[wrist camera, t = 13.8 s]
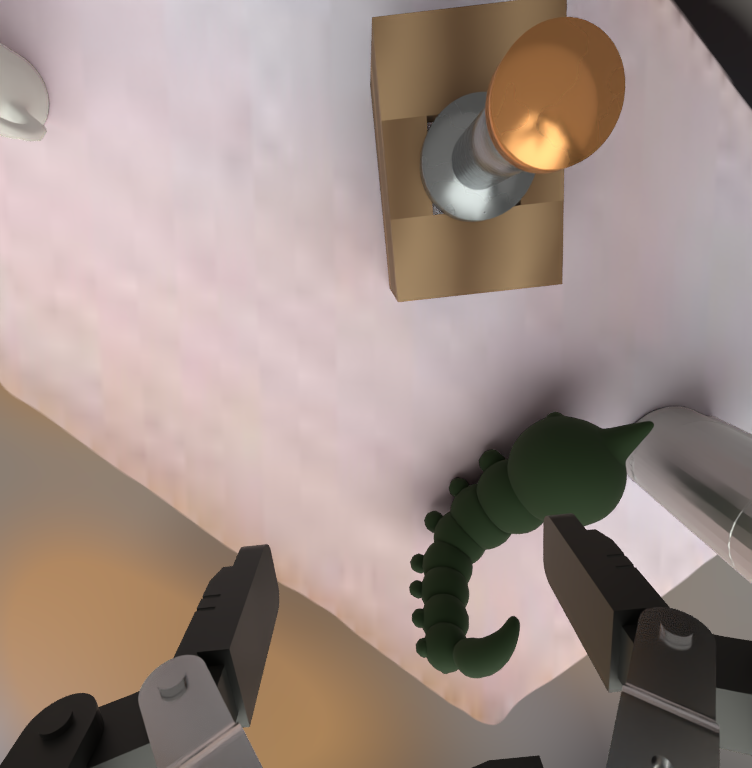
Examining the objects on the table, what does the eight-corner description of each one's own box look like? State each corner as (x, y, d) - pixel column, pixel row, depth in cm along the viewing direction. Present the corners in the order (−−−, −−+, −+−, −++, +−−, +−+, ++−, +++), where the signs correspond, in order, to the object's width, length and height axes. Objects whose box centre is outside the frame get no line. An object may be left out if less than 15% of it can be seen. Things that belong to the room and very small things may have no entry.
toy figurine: (447, 556, 51) (635, 417, 44) (475, 738, 33) (798, 552, 26) (389, 507, 49) (576, 352, 42) (385, 672, 31) (709, 451, 24)
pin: (492, 129, 34) (665, -36, 14) (494, 222, 36) (649, 190, 16) (404, 139, 34) (455, -11, 14) (411, 232, 36) (465, 211, 16)
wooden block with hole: (507, 70, 35) (566, -6, 25) (510, 274, 40) (562, 284, 30) (370, 86, 36) (372, 17, 25) (389, 288, 40) (398, 302, 30)
